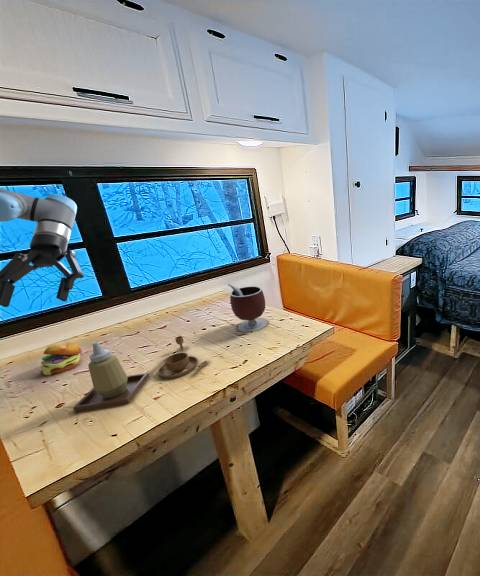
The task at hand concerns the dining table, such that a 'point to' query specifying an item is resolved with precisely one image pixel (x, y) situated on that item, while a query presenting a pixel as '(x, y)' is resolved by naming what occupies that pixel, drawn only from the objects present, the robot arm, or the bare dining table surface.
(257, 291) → the mate gourd
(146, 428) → the dining table surface
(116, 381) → the squeeze bottle
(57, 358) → the cheeseburger
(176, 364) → the place setting
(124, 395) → the dark brown tray
